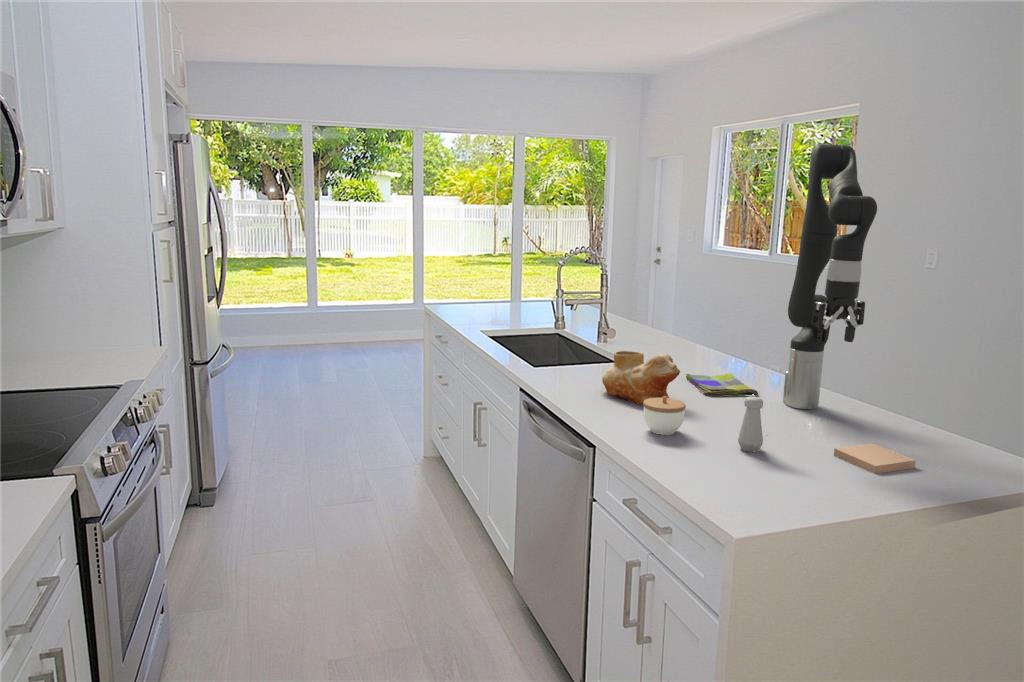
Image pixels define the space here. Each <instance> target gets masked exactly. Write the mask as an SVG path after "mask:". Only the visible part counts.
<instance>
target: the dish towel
mask: <svg viewBox="0 0 1024 682" xmlns="http://www.w3.org/2000/svg"><path fill="white" fill-rule="evenodd" d="M685 377H686V379H687V380H689V381H690V382H689V381H688V382H689V383H690V384H691V386H693V385H694V386H695V387H696V388H697V389H698V390H699V391H698V392H699V393H701V394H702V393H703V394H702V395H706V396H716V395H752V394H754V395H757V396H759V392H758V390H756V389H754V388H751V387H749V386H747V385H746V384H745V383H743V382H742V381H741V380H739V379H738V378H737V377H735V375H733V374H732V373H724V374H719V375H712V376H711V375H710V376H709V375H700V374H691V373H686V374H685ZM694 386H693V387H694ZM695 387H694V388H695ZM696 388H695V389H696ZM697 389H696V390H697Z"/></svg>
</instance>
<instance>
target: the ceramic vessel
mask: <svg viewBox="0 0 1024 682" xmlns="http://www.w3.org/2000/svg"><path fill="white" fill-rule="evenodd" d="M644 357H645V355H644V353H643V352H639V351H634V350H633V351H632V350H618V351H615V352H613V365H612V366H610V368H608V369H607V370H606V371H605V373H604V375H603V376H602V380H601V381H602V384H603V386H604V387H605V390H606V392H607V394H608V396H610V397H612V398H615V397H616V398H615V399H619V400H623V401H627V402H631V403H634V404H637V405H640V406H641V407H642V406H643V407H644V405H643V402H644V401H645V400H646V399H649V398H663V396H666V397H667V398H670V397H669V395H668V392H667V390H668V386H669V384H670V383H671V382H673V381H675V379H676V378H677V377H679V375H680V373H681V371H680V369H679V368H678V366H677V364H675V362H674V360H673V358H672V356H671V355H670V354H668V353H661V354H656V355H653V356H652V357H650V358H649V359H648V360H647V361H646V362H645V361H644V360H645V358H644Z"/></svg>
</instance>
